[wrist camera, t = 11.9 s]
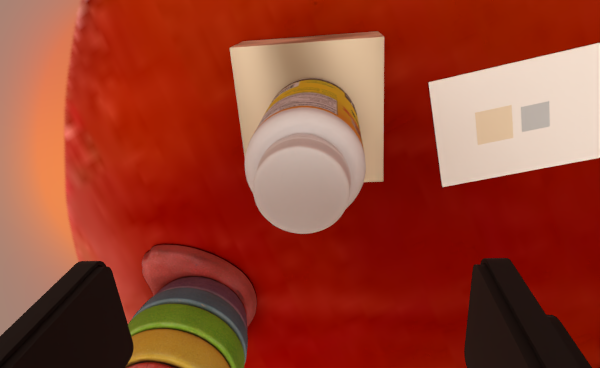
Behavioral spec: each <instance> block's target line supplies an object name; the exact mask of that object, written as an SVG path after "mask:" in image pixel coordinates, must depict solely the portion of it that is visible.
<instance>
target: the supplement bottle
mask: <svg viewBox="0 0 600 368" xmlns="http://www.w3.org/2000/svg"><path fill="white" fill-rule="evenodd" d="M365 172H366V162H365V154H364V149H363V143H362V138H361V132H360V127H359V122H358V117H357V113H356V110H355V107H354V104H353V102H352V101H351V99H350V97H349V96H348V95H347V93H346V92H345V91H344V90H343V89H341V88H340V87H339V86H337V85H336V84H334V83H332V82H330V81H327V80H324V79H319V78H305V79H300V80H297V81H294V82H292V83H290V84H289V85H287V86H285V87H284V88H283V89H282V90H280V92H279V93H278V94H277V95H276V96H275V98H274V99H273V101H272V102H271V104H270V106H269V107H268V109H267V111H266V113H265V114H264V116H263V118H262V120H261V122H260V123H259V125H258V127H257V129H256V130H255V132H254V134H253V136H252V138H251V140H250V142H249V144H248V147H247V151H246V155H245V174H246V179H247V182H248V184H249V187H250V189H251V191H252V193H253V195H254V199H255V202H256V205H257V207H258V209H259V211H260V212H261V213H262V215H263V216H264V217H265V218H266V219H267V220H268V221H269V222H270V223H272V224H273V225H274V226H276V227H278V228H280V229H282V230H285V231H288V232H291V233H298V234H309V233H314V232H318V231H321V230H324V229H326V228H328V227H329V226H331V225H333V224H334V223H335V222H336V221H337V220H338V219H339V218H340V217H341V216H342V214H343V213H344V211H345V209H346V208H347V207H348V206H349V205H350V204H351V203H352V202H353V201H354V200H355V198H356V197H357V195H358V194H359V192H360V190H361V188H362V185H363V182H364V178H365Z"/></svg>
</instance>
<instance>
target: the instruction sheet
mask: <svg viewBox="0 0 600 368" xmlns="http://www.w3.org/2000/svg"><path fill="white" fill-rule="evenodd" d="M428 84H429V92H430V99H431V107H432V115H433V122H434V130H435V137H436V145H437V153H438V160H439V168H440V175H441V183H442V187H446V186H451V185H457V184H462V183H467V182H473V181H478V180H483V179H488V178H494V177H499V176H504V175H510V174H515V173H520V172H526V171H531V170H536V169H542V168H547V167H552V166H558V165H563V164H568V163H574V162H579V161H584V160H590V159H595V158H600V43H596V44H591V45H587V46H583V47H578V48H574V49H570V50H565V51H561V52H557V53H552V54H548V55H544V56H540V57H535V58H531V59H527V60H522V61H518V62H514V63H509V64H505V65H501V66H496V67H492V68H488V69H484V70H479V71H475V72H471V73H466V74H462V75H458V76H453V77H449V78H445V79H440V80H436V81H432V82H428Z"/></svg>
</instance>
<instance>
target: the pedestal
mask: <svg viewBox="0 0 600 368" xmlns="http://www.w3.org/2000/svg"><path fill="white" fill-rule="evenodd" d="M230 55H231V62H232V69H233V76H234V83H235V91H236V98H237V105H238V112H239V120H240V127H241V134H242V141H243V148H244V156H245V155H246V151H247V147H248V144H249V142H250V140H251V138H252V136H253V134H254V132H255V130H256V129H257V127H258V125H259V123H260V122H261V120H262V118H263V116H264V114H265V113H266V111H267V109H268V107H269V106H270V104H271V102H272V101H273V99H274V98H275V96H276V95H277V94H278V93H279V92H280V90H282V89H283V88H284V87H285V86H287V85H289V84H290V83H292V82H294V81H297V80H300V79H305V78H319V79H324V80H327V81H330V82H332V83H334V84H336V85H337V86H339V87H340V88H341V89H343V90H344V91H345V92H346V93H347V95H348V96H349V97H350V99H351V101H352V102H353V104H354V107H355V110H356V113H357V117H358V122H359V127H360V132H361V138H362V143H363V149H364V154H365V162H366V172H365V178H364V182H381V181H383V150H384V36H383V35H382V34H380V33H379V32H378V31H376V32H362V33H348V34H335V35H321V36H308V37H294V38H281V39H267V40H253V41H243V42H241V43H239V44H237V45H234V46H232V47H230ZM248 185H249V184H248Z"/></svg>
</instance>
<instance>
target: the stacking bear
mask: <svg viewBox="0 0 600 368" xmlns="http://www.w3.org/2000/svg"><path fill="white" fill-rule="evenodd" d="M142 267H143V269H142V273H143V276H144V278H145V280H146V282H147V283H148V285H149V287H150V289H151V290H152V292H153V295H154V296H153V297H152V298H150V299H149V300H148V301H147V302H146V303H145V304H144V305H143V306H142V307H141V309H140V310H139V311H138V312H137V313H136V314H135V315H134V317H133V318H132V320H131V321H130V322H129V324H128V327H129V330H130V334H131V337H132V340H133V345H134V349H133V354H132V357H131V359H130V360H129V362H128V364H127V365H126V367H125V368H244V364H245V361H246V355H247V342H248V337H247V327H248V326H249V325H250V323H251V321H252V320H253V317H254V315H255V312H256V307H257V299H256V294H255V291H254V288H253V286H252V284H251V282H250V281H249V280H248V278H247V277H246V276H245V275H244V274H243V273H242V272H241V271H240V270H239V269H237V268H236V267H235V266H233V265H232V264H230V263H228V262H227V261H225V260H223V259H221V258H219V257H217V256H215V255H213V254H210V253H207V252H205V251H202V250H198V249H195V248H191V247H186V246H179V245H157V246H154V247H152V248H151V250H150V251H149V252H147V253H146V254H145V255H144V257H143V260H142Z"/></svg>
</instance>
